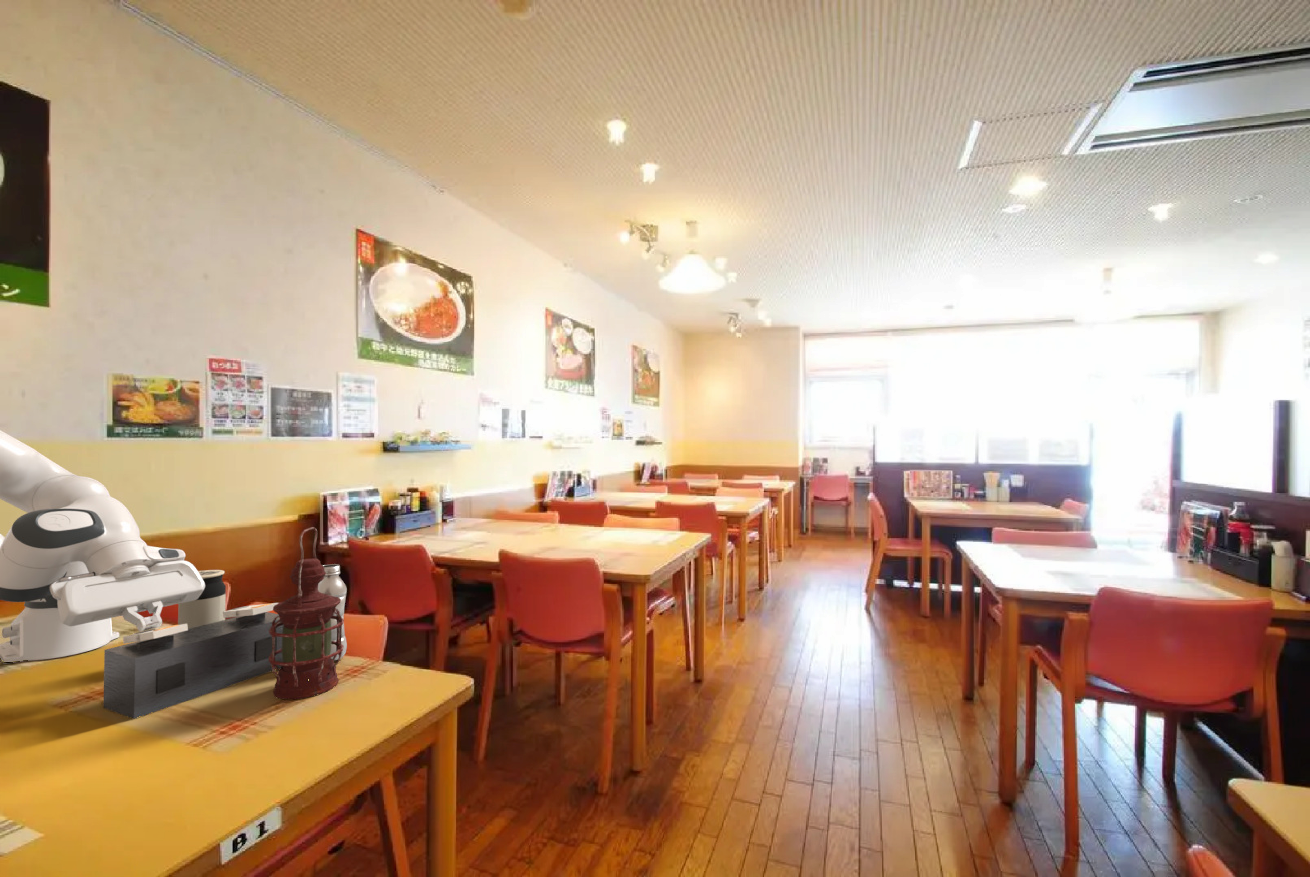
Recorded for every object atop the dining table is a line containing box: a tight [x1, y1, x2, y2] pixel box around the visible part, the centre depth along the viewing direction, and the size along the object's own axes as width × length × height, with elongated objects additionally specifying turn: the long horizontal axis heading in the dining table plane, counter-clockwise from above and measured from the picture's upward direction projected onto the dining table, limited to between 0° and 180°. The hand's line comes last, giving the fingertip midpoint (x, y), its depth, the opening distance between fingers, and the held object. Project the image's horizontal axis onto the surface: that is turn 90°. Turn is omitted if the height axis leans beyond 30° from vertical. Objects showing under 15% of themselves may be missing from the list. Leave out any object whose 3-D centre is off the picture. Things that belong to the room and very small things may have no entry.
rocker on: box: [122, 624, 188, 645], centre depth 101 cm, size 10×5×1 cm, turn 66°
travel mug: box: [177, 569, 227, 629], centre depth 122 cm, size 8×8×18 cm
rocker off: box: [223, 602, 279, 619], centre depth 115 cm, size 10×5×1 cm, turn 66°
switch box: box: [102, 611, 284, 720], centre depth 108 cm, size 10×26×11 cm, turn 156°
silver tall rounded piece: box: [318, 563, 348, 662], centre depth 120 cm, size 6×7×20 cm
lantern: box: [269, 526, 345, 700], centre depth 107 cm, size 12×12×30 cm
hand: (151, 627), depth 101 cm, fingers closed
